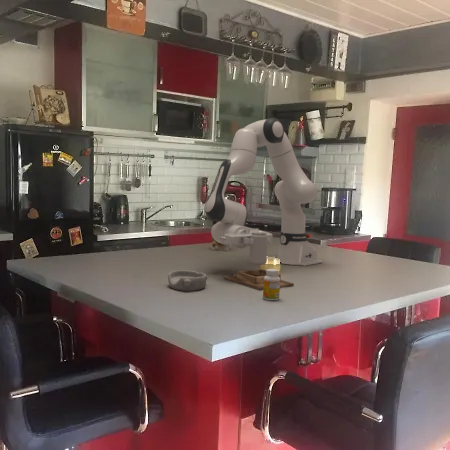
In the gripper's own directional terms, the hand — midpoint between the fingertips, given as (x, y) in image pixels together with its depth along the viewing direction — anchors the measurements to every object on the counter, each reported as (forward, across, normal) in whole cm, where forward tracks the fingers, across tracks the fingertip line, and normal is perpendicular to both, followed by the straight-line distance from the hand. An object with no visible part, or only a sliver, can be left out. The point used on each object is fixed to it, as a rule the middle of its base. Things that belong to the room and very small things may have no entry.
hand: (261, 241), depth 191 cm
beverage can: (-1, 0, +9) cm, 9 cm away
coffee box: (-74, +32, +16) cm, 82 cm away
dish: (-6, -28, +16) cm, 33 cm away
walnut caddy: (-1, 0, +16) cm, 16 cm away
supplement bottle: (+21, -12, +16) cm, 29 cm away
